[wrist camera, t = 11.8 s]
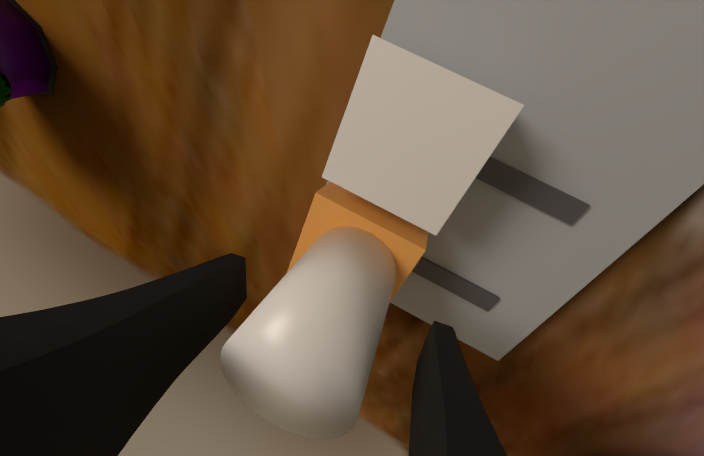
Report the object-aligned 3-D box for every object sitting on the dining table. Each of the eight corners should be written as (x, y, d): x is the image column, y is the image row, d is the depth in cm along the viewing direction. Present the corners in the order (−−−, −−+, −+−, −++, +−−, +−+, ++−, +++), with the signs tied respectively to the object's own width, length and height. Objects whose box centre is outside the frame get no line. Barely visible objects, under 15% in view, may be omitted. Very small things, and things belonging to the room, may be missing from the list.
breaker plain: (509, 101, 10) (524, 105, 8) (438, 211, 13) (436, 235, 11) (387, 45, 11) (372, 34, 9) (342, 162, 13) (321, 176, 11)
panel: (854, 22, 8) (911, 12, 7) (495, 347, 17) (498, 363, 16) (454, -139, 9) (455, -168, 8) (307, 245, 18) (298, 255, 17)
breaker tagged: (429, 224, 13) (425, 250, 11) (384, 294, 16) (374, 326, 14) (336, 176, 14) (315, 192, 12) (306, 252, 16) (285, 277, 14)
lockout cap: (407, 242, 11) (371, 370, 6) (385, 314, 13) (345, 458, 8) (315, 215, 12) (214, 309, 7) (307, 287, 14) (224, 403, 9)
